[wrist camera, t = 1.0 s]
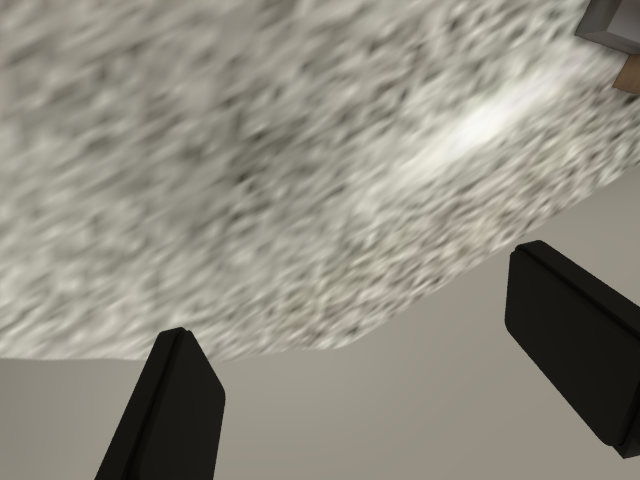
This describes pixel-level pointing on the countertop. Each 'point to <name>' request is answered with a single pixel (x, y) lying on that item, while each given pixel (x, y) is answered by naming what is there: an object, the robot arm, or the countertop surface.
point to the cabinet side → (616, 35)
